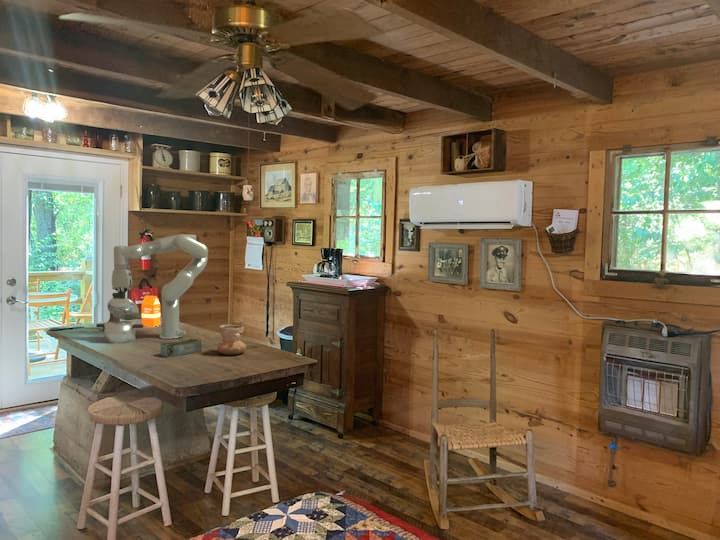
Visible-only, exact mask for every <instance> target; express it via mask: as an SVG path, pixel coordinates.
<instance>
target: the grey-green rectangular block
mask: <svg viewBox="0 0 720 540" xmlns="http://www.w3.org/2000/svg"><path fill="white" fill-rule="evenodd" d="M195 352H198V353H201V352H202V341H201V339H195V338H189V339H185V340H178V341H173V342H167V343H161V344H160V356H163V357H165V358H173V356H174V357H179V355H180V356H184V354H186V355H191V354H190V353H192V354H195Z"/></svg>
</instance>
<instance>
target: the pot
mask: <svg viewBox="0 0 720 540" xmlns="http://www.w3.org/2000/svg"><path fill="white" fill-rule="evenodd" d="M104 323H105V324H103V323H96V324H95V326H96V328H103V327H104V330H105V331H104V343H106V344H112V343H118V344H127V343H126V342H128V343H132V342H131V341H133V342H135V341H136V338H137V337H136V329H143V328H145V327H144V324H142V323H140V324H138V323H136V321H132V320H120V321H113V322H108V321H107V322H104ZM134 340H135V341H134Z"/></svg>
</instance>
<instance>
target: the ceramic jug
mask: <svg viewBox="0 0 720 540" xmlns="http://www.w3.org/2000/svg"><path fill="white" fill-rule="evenodd" d="M244 330H245V326H244V325H238V324H222V325H220V326H219V332H220V335H221V338H222V339H221V340H222V342H220V343H219V344H218V345H217V347H216V348H217V352H218V353H219V354H222V355H226V356H233V355H234V356H235V355H240V354H242V353H244V352H246V349H247V345H246V344H245V343H244V342H242V341H241V338H242V336H243V333H244Z"/></svg>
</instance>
